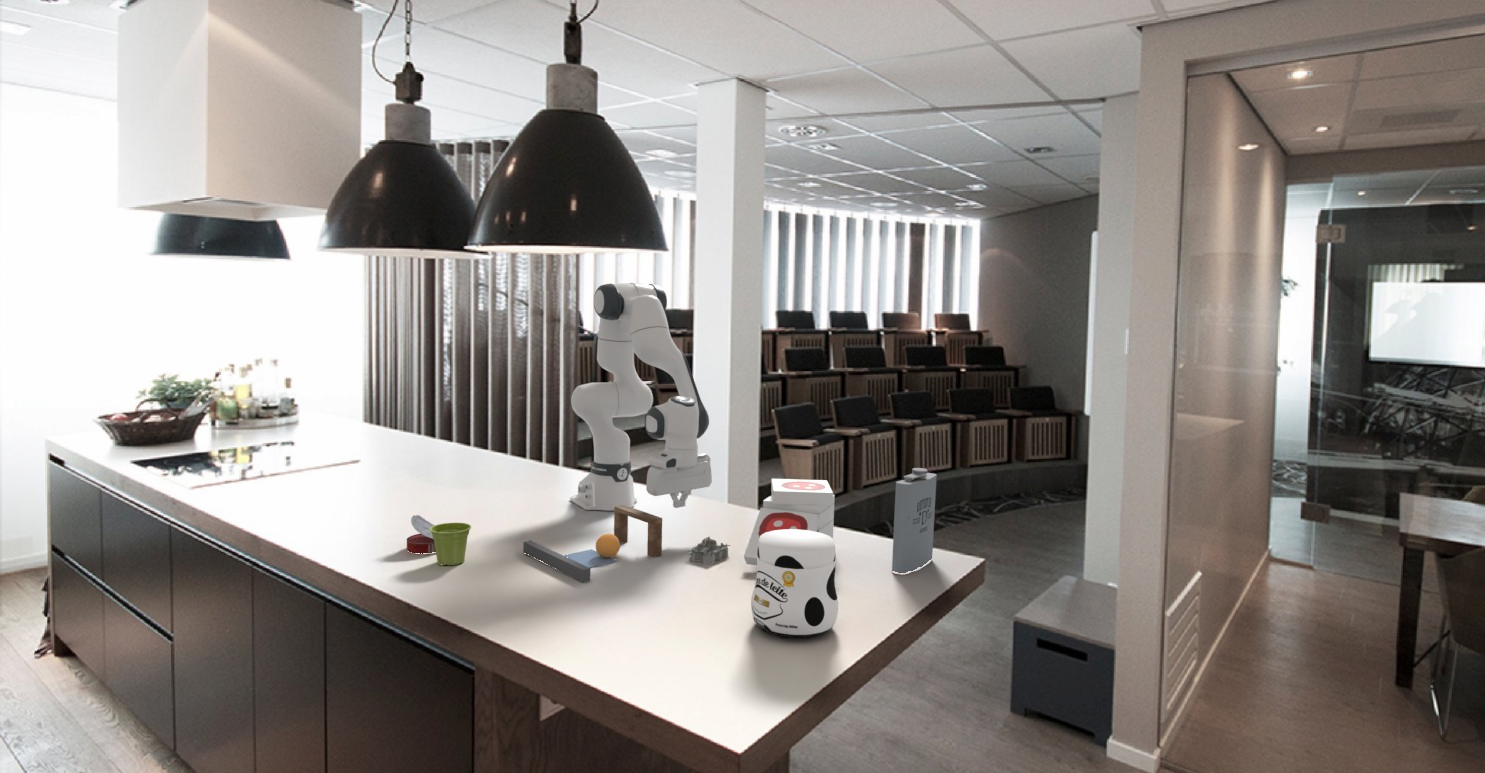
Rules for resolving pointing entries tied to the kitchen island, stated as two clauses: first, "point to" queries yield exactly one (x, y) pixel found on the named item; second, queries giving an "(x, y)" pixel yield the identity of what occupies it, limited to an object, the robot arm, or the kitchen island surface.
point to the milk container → (795, 583)
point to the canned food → (421, 537)
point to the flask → (914, 520)
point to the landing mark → (590, 558)
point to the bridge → (653, 521)
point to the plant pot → (450, 542)
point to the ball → (607, 545)
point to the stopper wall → (557, 561)
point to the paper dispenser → (793, 510)
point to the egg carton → (708, 551)
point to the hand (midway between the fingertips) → (679, 506)
